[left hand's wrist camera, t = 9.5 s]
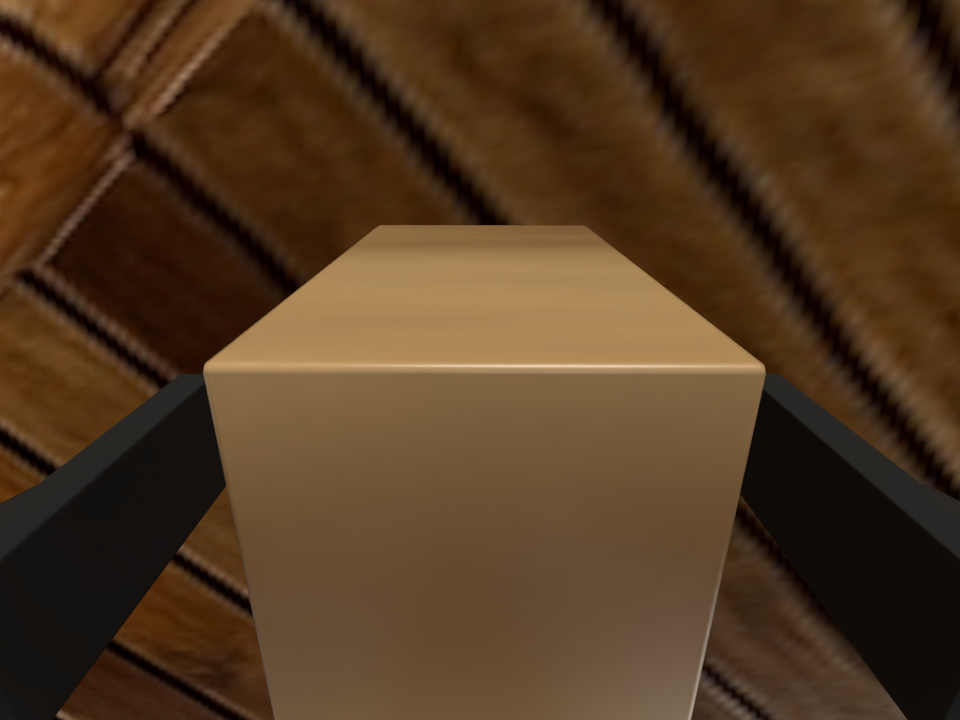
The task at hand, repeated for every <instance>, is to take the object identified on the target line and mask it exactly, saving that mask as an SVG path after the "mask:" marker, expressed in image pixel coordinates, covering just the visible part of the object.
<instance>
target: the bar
mask: <svg viewBox="0 0 960 720" xmlns="http://www.w3.org/2000/svg"><path fill="white" fill-rule="evenodd" d="M203 375H204V379H205V384H206V389H207V394H208V399H209V404H210V409H211V413H212V418H213V423H214V428H215V433H216V438H217V443H218V447H219V452H220V457H221V462H222V467H223V472H224V477H225V482H226V486H227V491H228V496H229V501H230V506H231V511H232V516H233V520H234V525H235V530H236V535H237V540H238V545H239V550H240V555H241V559H242V564H243V569H244V574H245V579H246V584H247V589H248V593H249V598H250V603H251V608H252V613H253V618H254V623H255V628H256V632H257V637H258V642H259V647H260V652H261V657H262V662H263V666H264V671H265V676H266V681H267V686H268V691H269V696H270V701H271V705H272V710H273V715H274V720H691V717H692V712H693V707H694V703H695V698H696V694H697V689H698V684H699V680H700V675H701V671H702V666H703V661H704V657H705V652H706V648H707V643H708V638H709V634H710V629H711V624H712V620H713V615H714V611H715V606H716V601H717V597H718V592H719V588H720V583H721V578H722V574H723V569H724V565H725V560H726V555H727V551H728V546H729V541H730V537H731V532H732V528H733V523H734V518H735V514H736V509H737V505H738V500H739V495H740V491H741V486H742V481H743V477H744V472H745V468H746V463H747V458H748V454H749V449H750V445H751V440H752V435H753V431H754V426H755V422H756V417H757V412H758V408H759V403H760V398H761V394H762V389H763V385H764V380H765V375H766V372H765V367H764V364H762V363H761V362H760V361H759V360H757V359H756V358H755V357H753V356H752V355H751V354H750V353H748V352H747V351H746V350H744V349H743V348H742V347H741V346H739V345H738V344H737V343H735V342H734V341H733V340H732V339H730V338H729V337H728V336H726V335H725V334H724V333H723V332H721V331H720V330H719V329H717V328H716V327H715V326H714V325H712V324H711V323H710V322H708V321H707V320H706V319H705V318H703V317H702V316H701V315H699V314H698V313H697V312H696V311H694V310H693V309H692V308H690V307H689V306H688V305H686V304H685V303H684V302H683V301H681V300H680V299H679V298H677V297H676V296H675V295H674V294H672V293H671V292H670V291H668V290H667V289H666V288H665V287H663V286H662V285H661V284H659V283H658V282H657V281H656V280H654V279H653V278H652V277H650V276H649V275H648V274H647V273H645V272H644V271H643V270H641V269H640V268H639V267H638V266H636V265H635V264H634V263H632V262H631V261H630V260H629V259H627V258H626V257H625V256H623V255H622V254H621V253H620V252H618V251H617V250H616V249H614V248H613V247H612V246H611V245H609V244H608V243H607V242H605V241H604V240H603V239H602V238H600V237H599V236H598V235H596V234H595V233H594V232H593V231H591V230H590V229H589V228H587V227H586V226H486V225H380V226H377V227H376V228H375V229H374V230H372V231H371V232H370V233H369V234H367V235H366V236H365V237H364V238H362V239H361V240H360V241H359V242H357V243H356V244H355V245H353V246H352V247H351V248H350V249H348V250H347V251H346V252H345V253H343V254H342V255H341V256H340V257H338V258H337V259H336V260H335V261H333V262H332V263H331V264H330V265H328V266H327V267H326V268H325V269H323V270H322V271H321V272H319V273H318V274H317V275H316V276H314V277H313V278H312V279H311V280H309V281H308V282H307V283H306V284H304V285H303V286H302V287H301V288H299V289H298V290H297V291H296V292H294V293H293V294H292V295H291V296H289V297H288V298H287V299H285V300H284V301H283V302H282V303H280V304H279V305H278V306H277V307H275V308H274V309H273V310H272V311H270V312H269V313H268V314H267V315H265V316H264V317H263V318H262V319H260V320H259V321H258V322H256V323H255V324H254V325H253V326H251V327H250V328H249V329H248V330H246V331H245V332H244V333H243V334H241V335H240V336H239V337H238V338H236V339H235V340H234V341H233V342H231V343H230V344H229V345H228V346H226V347H225V348H224V349H222V350H221V351H220V352H219V353H217V354H216V355H215V356H214V357H212V358H211V359H210V360H209V361H207V362H206V363H205V366H204V371H203Z"/></svg>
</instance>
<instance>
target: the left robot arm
mask: <svg viewBox="0 0 960 720" xmlns="http://www.w3.org/2000/svg"><path fill="white" fill-rule="evenodd" d="M225 486H226V482H225V477H224V472H223V467H222V462H221V457H220V452H219V447H218V443H217V438H216V433H215V428H214V423H213V418H212V413H211V409H210V404H209V399H208V394H207V389H206V384H205V379H204V375H203V374H181V375H180V376H178V377H177V378H176V379H174V380H173V381H172V382H170V383H169V384H168V385H167V386H165V387H164V388H163V389H161V390H160V391H159V392H157V393H156V394H155V395H154V396H152V397H151V398H150V399H148V400H147V401H146V402H145V403H143V404H142V405H141V406H139V407H138V408H137V409H135V410H134V411H133V412H132V413H130V414H129V415H128V416H126V417H125V418H124V419H122V420H121V421H120V422H119V423H117V424H116V425H115V426H113V427H112V428H111V429H110V430H108V431H107V432H106V433H104V434H103V435H102V436H100V437H99V438H98V439H97V440H95V441H94V442H93V443H91V444H90V445H89V446H88V447H86V448H85V449H84V450H82V451H81V452H80V453H78V454H77V455H76V456H75V457H73V458H72V459H71V460H69V461H68V462H67V463H65V464H64V465H63V466H62V467H60V468H59V469H58V470H56V471H55V472H54V473H53V474H51V475H50V476H49V477H47V478H46V479H45V480H43V481H42V482H41V483H40V484H38V485H37V486H34V487H32V488H30V489H28V490H26V491H24V492H22V493H20V494H18V495H16V496H14V497H12V498H10V499H8V500H6V501H5V502H3V503H1V504H0V720H52V719H53V718H54V717H55V715H56V714H57V713H58V711H59V710H60V709H61V707H62V706H63V705H64V703H65V702H66V701H67V699H68V698H69V697H70V695H71V694H72V693H73V691H74V690H75V688H76V687H77V686H78V684H79V683H80V682H81V680H82V679H83V678H84V676H85V675H86V674H87V672H88V671H89V670H90V668H91V667H92V666H93V664H94V663H95V662H96V660H97V659H98V657H99V656H100V655H101V653H102V652H103V651H104V649H105V648H106V647H107V645H108V644H109V643H110V641H111V640H112V639H113V637H114V636H115V635H116V633H117V632H118V631H119V629H120V628H121V627H122V625H123V624H124V622H125V621H126V620H127V618H128V617H129V616H130V614H131V613H132V612H133V610H134V609H135V608H136V606H137V605H138V604H139V602H140V601H141V600H142V598H143V597H144V596H145V594H146V593H147V591H148V590H149V589H150V587H151V586H152V585H153V583H154V582H155V581H156V579H157V578H158V577H159V575H160V574H161V573H162V571H163V570H164V569H165V567H166V566H167V565H168V563H169V562H170V560H171V559H172V558H173V556H174V555H175V554H176V552H177V551H178V550H179V548H180V547H181V546H182V544H183V543H184V542H185V540H186V539H187V538H188V536H189V535H190V534H191V532H192V531H193V530H194V528H195V527H196V525H197V524H198V523H199V521H200V520H201V519H202V517H203V516H204V515H205V513H206V512H207V511H208V509H209V508H210V507H211V505H212V504H213V503H214V501H215V500H216V499H217V497H218V496H219V494H220V493H221V492H222V490H223V489H224V488H225ZM740 495H741V496H742V497H743V499H744V500H745V501H746V503H747V504H748V505H749V507H750V508H751V509H752V511H753V512H754V513H755V515H756V516H757V517H758V519H759V520H760V521H761V523H762V524H763V525H764V527H765V528H766V530H767V531H768V532H769V534H770V535H771V536H772V538H773V539H774V540H775V542H776V543H777V544H778V546H779V547H780V548H781V550H782V551H783V552H784V554H785V555H786V556H787V558H788V559H789V561H790V562H791V563H792V565H793V566H794V567H795V569H796V570H797V571H798V573H799V574H800V575H801V577H802V578H803V579H804V581H805V582H806V583H807V585H808V586H809V587H810V589H811V590H812V591H813V593H814V594H815V596H816V597H817V598H818V600H819V601H820V602H821V604H822V605H823V606H824V608H825V609H826V610H827V612H828V613H829V614H830V616H831V617H832V618H833V620H834V621H835V622H836V624H837V625H838V627H839V628H840V629H841V631H842V632H843V633H844V635H845V636H846V637H847V639H848V640H849V641H850V643H851V644H852V645H853V647H854V648H855V649H856V651H857V652H858V653H859V655H860V656H861V658H862V659H863V660H864V662H865V663H866V664H867V666H868V667H869V668H870V670H871V671H872V672H873V674H874V675H875V676H876V678H877V679H878V680H879V682H880V683H881V684H882V686H883V687H884V688H885V690H886V691H887V693H888V694H889V695H890V697H891V698H892V699H893V701H894V702H895V703H896V705H897V706H898V707H899V709H900V710H901V711H902V713H903V714H904V715H905V717H906V718H907V719H908V720H960V501H958V500H956V499H954V498H952V497H950V496H948V495H946V494H944V493H942V492H940V491H938V490H936V489H934V488H932V487H930V486H928V485H926V484H920V483H919V482H918V481H917V480H915V479H914V478H913V477H911V476H910V475H909V474H907V473H906V472H905V471H904V470H902V469H901V468H900V467H898V466H897V465H896V464H895V463H893V462H892V461H891V460H889V459H888V458H887V457H885V456H884V455H883V454H882V453H880V452H879V451H878V450H876V449H875V448H874V447H872V446H871V445H870V444H869V443H867V442H866V441H865V440H863V439H862V438H861V437H860V436H858V435H857V434H856V433H854V432H853V431H852V430H850V429H849V428H848V427H847V426H845V425H844V424H843V423H841V422H840V421H839V420H837V419H836V418H835V417H834V416H832V415H831V414H830V413H828V412H827V411H826V410H825V409H823V408H822V407H821V406H819V405H818V404H817V403H815V402H814V401H813V400H812V399H810V398H809V397H808V396H806V395H805V394H804V393H803V392H801V391H800V390H799V389H797V388H796V387H795V386H793V385H792V384H791V383H790V382H788V381H787V380H786V379H784V378H783V377H782V376H780V375H779V374H766V375H765V380H764V385H763V389H762V394H761V398H760V403H759V408H758V412H757V417H756V422H755V426H754V431H753V435H752V440H751V445H750V449H749V454H748V458H747V463H746V468H745V472H744V477H743V481H742V486H741V491H740Z"/></svg>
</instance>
